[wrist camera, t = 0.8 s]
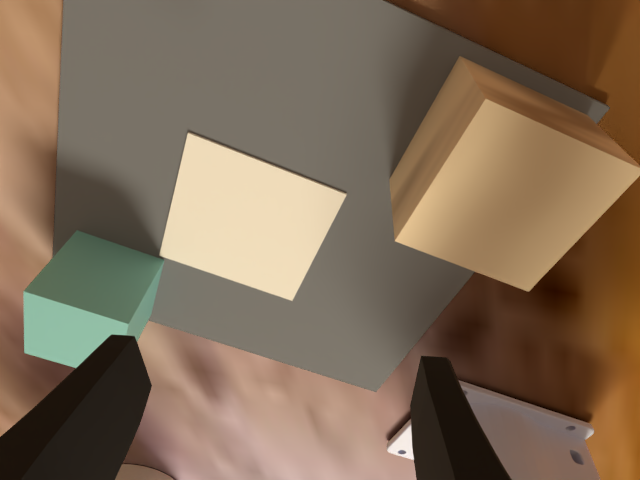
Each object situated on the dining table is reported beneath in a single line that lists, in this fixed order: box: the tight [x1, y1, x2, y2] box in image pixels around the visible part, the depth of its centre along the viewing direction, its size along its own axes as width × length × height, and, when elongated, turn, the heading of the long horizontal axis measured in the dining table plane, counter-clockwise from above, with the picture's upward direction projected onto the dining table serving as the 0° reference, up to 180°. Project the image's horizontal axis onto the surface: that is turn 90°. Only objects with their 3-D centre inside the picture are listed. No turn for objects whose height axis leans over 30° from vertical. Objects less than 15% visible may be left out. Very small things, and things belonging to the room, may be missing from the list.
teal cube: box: [24, 230, 164, 368], centre depth 20 cm, size 4×4×4 cm
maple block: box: [389, 56, 640, 292], centre depth 15 cm, size 5×5×4 cm
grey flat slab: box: [53, 0, 610, 392], centre depth 19 cm, size 18×18×1 cm
